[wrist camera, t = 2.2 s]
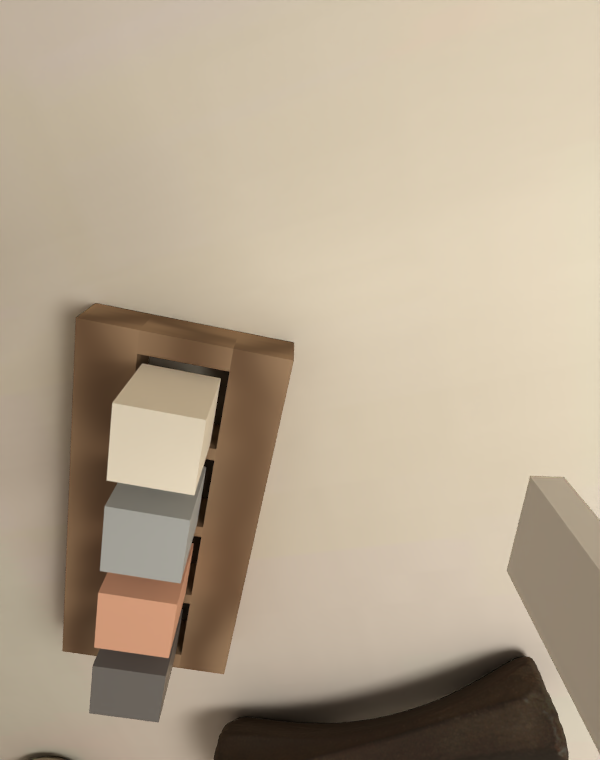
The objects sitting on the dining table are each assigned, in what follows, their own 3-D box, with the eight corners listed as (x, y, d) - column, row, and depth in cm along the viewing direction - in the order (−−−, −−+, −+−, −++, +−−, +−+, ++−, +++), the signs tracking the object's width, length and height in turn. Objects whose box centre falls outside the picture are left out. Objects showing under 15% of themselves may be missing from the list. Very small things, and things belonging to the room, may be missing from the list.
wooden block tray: (78, 617, 41) (62, 651, 38) (95, 303, 30) (75, 317, 28) (228, 640, 42) (223, 674, 39) (293, 342, 31) (293, 360, 29)
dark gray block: (115, 644, 37) (89, 713, 33) (119, 600, 36) (92, 666, 31) (175, 653, 38) (158, 722, 33) (182, 609, 36) (165, 676, 31)
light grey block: (127, 512, 33) (99, 571, 28) (133, 454, 31) (104, 506, 26) (196, 524, 33) (180, 583, 28) (206, 467, 31) (190, 520, 27)
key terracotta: (121, 582, 35) (94, 647, 30) (125, 532, 33) (98, 592, 29) (185, 593, 35) (168, 658, 31) (193, 543, 34) (177, 604, 29)
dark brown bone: (234, 732, 50) (505, 627, 49) (258, 877, 43) (573, 759, 42) (185, 725, 41) (511, 598, 40) (205, 904, 35) (597, 757, 34)
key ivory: (135, 431, 30) (106, 480, 26) (142, 363, 28) (112, 402, 24) (210, 444, 31) (194, 495, 26) (220, 378, 29) (206, 420, 24)
